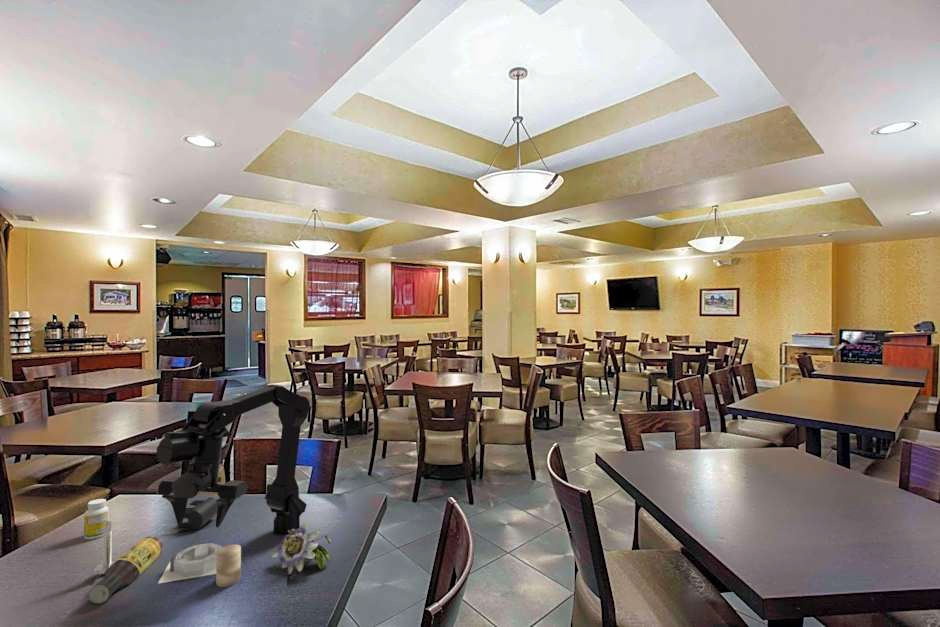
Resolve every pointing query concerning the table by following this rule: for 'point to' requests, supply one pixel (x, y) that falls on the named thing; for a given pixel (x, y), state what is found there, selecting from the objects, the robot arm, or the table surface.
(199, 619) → the table surface
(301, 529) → the passion flower
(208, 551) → the white faceted ring
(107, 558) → the graduated cylinder
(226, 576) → the maple peg
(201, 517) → the end cap
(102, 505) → the supplement bottle
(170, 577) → the base plate
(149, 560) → the sauce bottle
